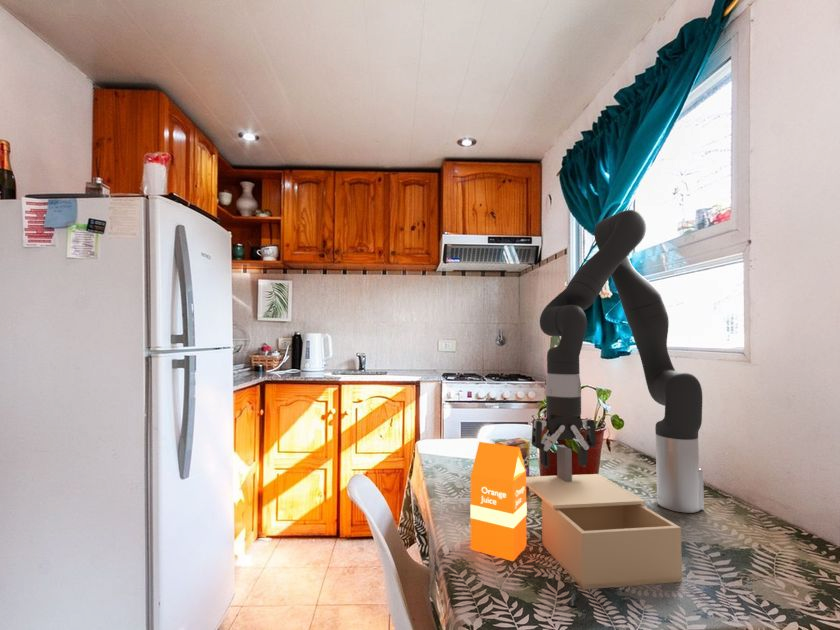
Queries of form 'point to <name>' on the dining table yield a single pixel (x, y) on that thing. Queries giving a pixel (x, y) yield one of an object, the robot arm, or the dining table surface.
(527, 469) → the candy box
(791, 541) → the dining table surface
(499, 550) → the orange juice
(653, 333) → the robot arm
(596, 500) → the carton lid
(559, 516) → the carton
